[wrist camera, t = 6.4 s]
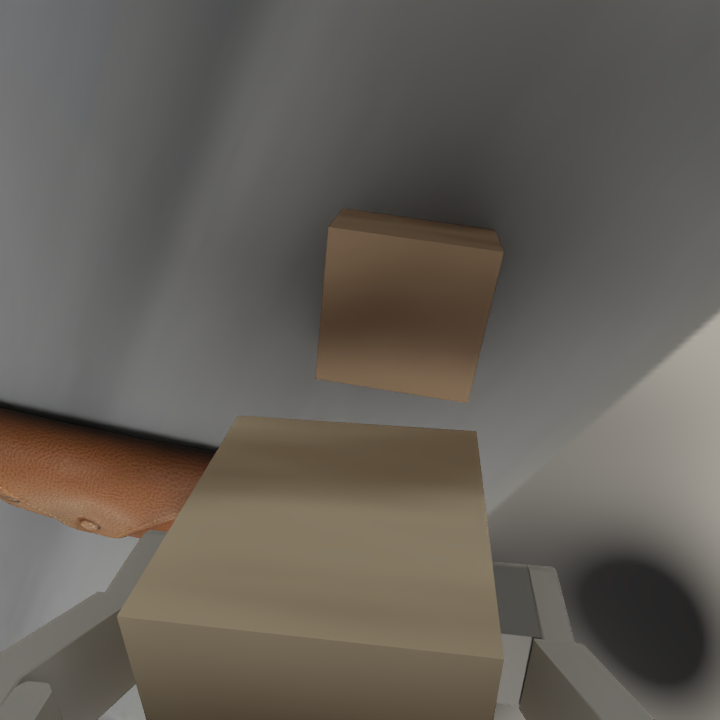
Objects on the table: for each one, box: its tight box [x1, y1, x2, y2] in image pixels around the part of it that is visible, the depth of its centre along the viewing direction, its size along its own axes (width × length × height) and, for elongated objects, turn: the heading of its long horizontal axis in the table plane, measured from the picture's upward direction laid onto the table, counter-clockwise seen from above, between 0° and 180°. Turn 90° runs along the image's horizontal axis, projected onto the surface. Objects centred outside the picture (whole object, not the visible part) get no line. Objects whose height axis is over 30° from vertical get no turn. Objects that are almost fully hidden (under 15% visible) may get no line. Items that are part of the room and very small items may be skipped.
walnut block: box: [315, 208, 504, 403], centre depth 25 cm, size 7×7×4 cm
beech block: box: [117, 416, 504, 720], centre depth 10 cm, size 5×5×5 cm
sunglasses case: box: [0, 407, 216, 538], centre depth 33 cm, size 18×7×7 cm, turn 81°
